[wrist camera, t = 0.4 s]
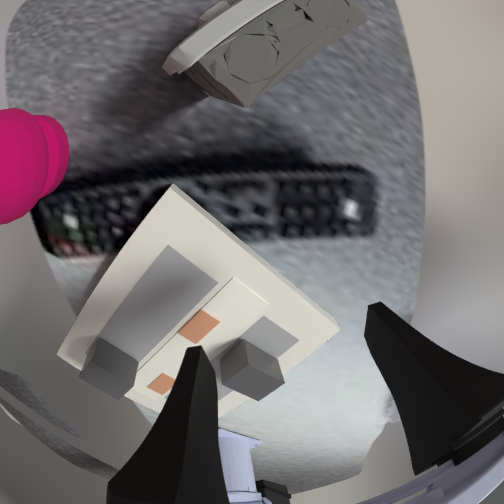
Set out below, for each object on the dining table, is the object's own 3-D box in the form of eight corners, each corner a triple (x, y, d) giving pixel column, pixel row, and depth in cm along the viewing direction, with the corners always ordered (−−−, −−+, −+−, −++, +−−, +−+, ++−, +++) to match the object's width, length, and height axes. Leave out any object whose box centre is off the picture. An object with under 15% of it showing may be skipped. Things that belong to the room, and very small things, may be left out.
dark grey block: (253, 377, 24) (258, 401, 21) (219, 359, 22) (221, 384, 20) (277, 359, 23) (284, 382, 20) (244, 339, 21) (248, 364, 19)
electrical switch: (266, -9, 13) (318, -72, 5) (313, 40, 15) (395, 8, 7) (161, 69, 14) (132, 32, 6) (214, 119, 17) (233, 124, 9)
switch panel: (199, 418, 29) (199, 430, 27) (61, 344, 22) (55, 355, 20) (334, 319, 24) (341, 330, 23) (172, 183, 18) (169, 188, 16)
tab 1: (124, 376, 22) (118, 399, 19) (87, 354, 20) (78, 377, 18) (138, 362, 21) (133, 386, 19) (99, 337, 20) (90, 360, 17)
